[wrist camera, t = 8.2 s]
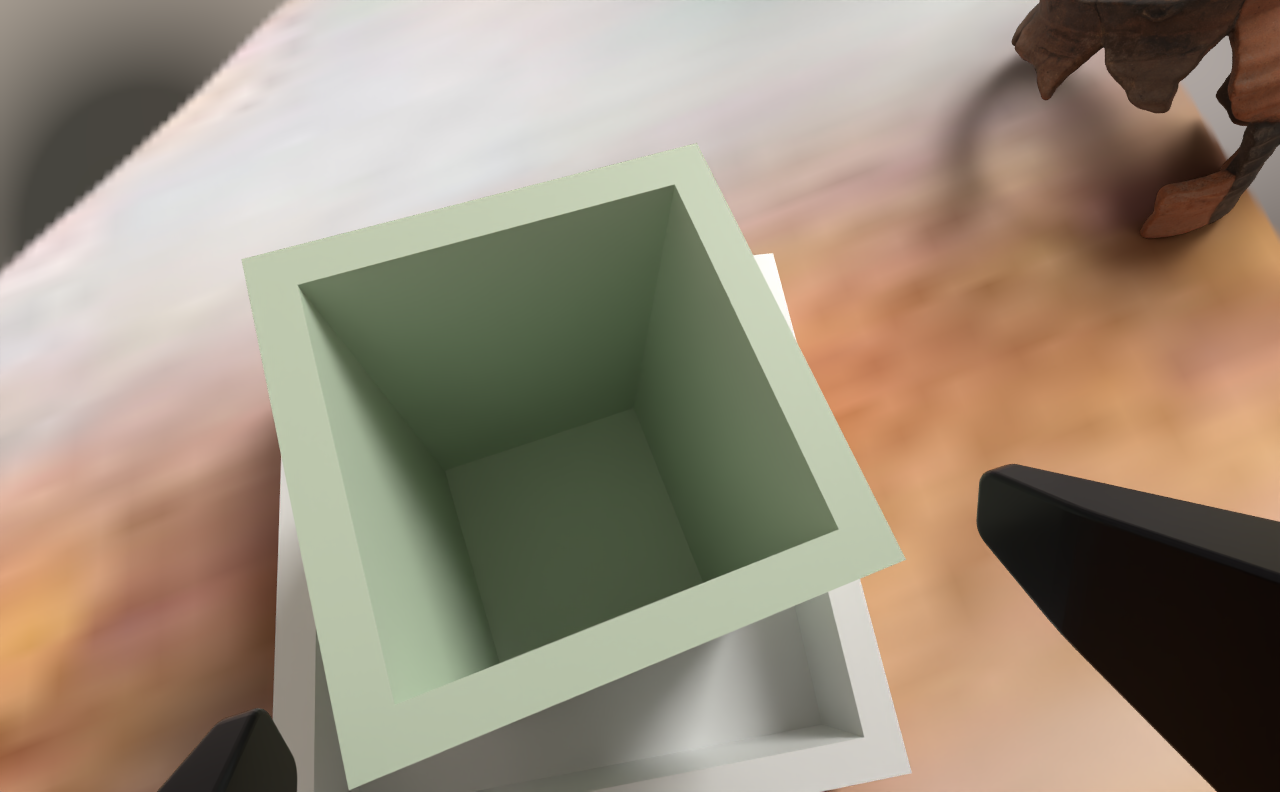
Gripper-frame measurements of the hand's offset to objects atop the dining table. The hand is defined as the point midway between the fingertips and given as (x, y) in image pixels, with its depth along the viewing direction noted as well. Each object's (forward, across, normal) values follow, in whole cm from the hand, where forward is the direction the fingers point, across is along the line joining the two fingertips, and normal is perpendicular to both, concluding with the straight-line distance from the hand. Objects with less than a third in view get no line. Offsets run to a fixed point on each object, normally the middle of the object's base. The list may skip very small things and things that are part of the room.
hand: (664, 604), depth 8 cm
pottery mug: (+15, -24, -1) cm, 29 cm away
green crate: (+9, 0, +5) cm, 10 cm away
